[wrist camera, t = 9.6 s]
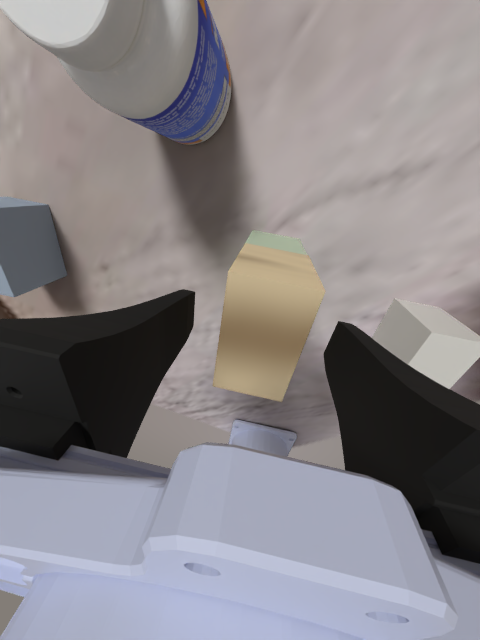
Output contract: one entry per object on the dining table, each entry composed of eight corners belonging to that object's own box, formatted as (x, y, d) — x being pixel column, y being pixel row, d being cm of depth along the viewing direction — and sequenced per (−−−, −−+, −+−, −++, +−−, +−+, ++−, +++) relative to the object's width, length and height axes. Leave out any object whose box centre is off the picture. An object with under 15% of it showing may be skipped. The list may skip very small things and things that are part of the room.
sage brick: (279, 309, 19) (280, 342, 15) (240, 301, 20) (230, 332, 15) (299, 238, 16) (307, 256, 12) (253, 230, 16) (244, 243, 12)
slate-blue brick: (67, 275, 21) (14, 297, 17) (33, 268, 21) (-29, 288, 17) (49, 204, 18) (-24, 209, 13) (8, 196, 18) (-76, 198, 14)
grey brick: (398, 363, 21) (430, 408, 16) (361, 355, 21) (383, 397, 16) (438, 306, 17) (491, 344, 13) (394, 297, 18) (431, 332, 13)
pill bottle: (251, 63, 12) (196, -211, 4) (206, 165, 15) (116, 133, 6) (162, -13, 11) (-161, -593, 3) (131, 110, 14) (-84, -10, 6)
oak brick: (280, 342, 15) (281, 402, 11) (230, 331, 15) (212, 386, 11) (308, 255, 12) (325, 291, 8) (245, 242, 12) (228, 271, 8)
